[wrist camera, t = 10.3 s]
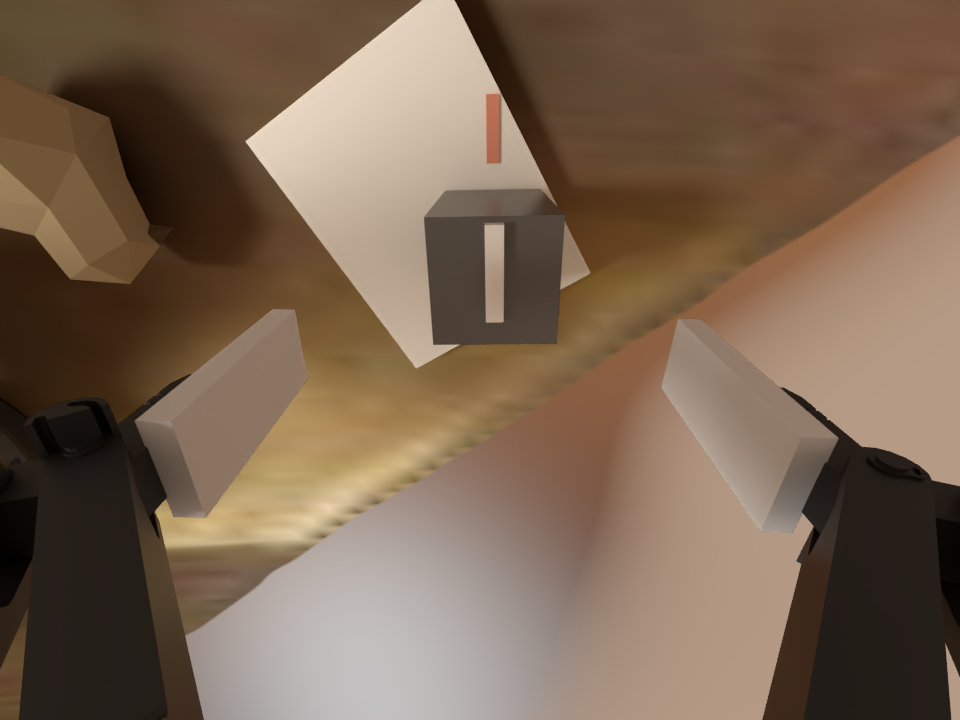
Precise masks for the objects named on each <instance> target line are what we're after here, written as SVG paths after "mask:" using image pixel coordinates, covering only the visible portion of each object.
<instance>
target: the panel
mask: <svg viewBox="0 0 960 720" xmlns="http://www.w3.org/2000/svg"><path fill="white" fill-rule="evenodd" d="M245 142H246V143H247V144H248V146H249V147H250V148H251V150H252V151H253V152H254V154H255V155H256V156H257V158H258V159H259V160H260V162H261V163H262V164H263V165H264V167H265V168H266V169H267V171H268V172H269V173H270V175H271V176H272V177H273V179H274V180H275V181H276V183H277V184H278V185H279V187H280V188H281V189H282V191H283V192H284V193H285V195H286V196H287V197H288V199H289V200H290V201H291V203H292V204H293V205H294V207H295V208H296V209H297V211H298V212H299V213H300V215H301V216H302V217H303V219H304V220H305V221H306V223H307V224H308V225H309V227H310V228H311V229H312V231H313V232H314V233H315V235H316V236H317V237H318V239H319V240H320V241H321V243H322V244H323V245H324V247H325V248H326V249H327V251H328V252H329V253H330V255H331V256H332V257H333V259H334V260H335V261H336V263H337V264H338V265H339V266H340V268H341V269H342V270H343V272H344V273H345V274H346V276H347V277H348V278H349V280H350V281H351V282H352V284H353V285H354V286H355V288H356V289H357V290H358V292H359V293H360V294H361V296H362V297H363V298H364V300H365V301H366V302H367V304H368V305H369V306H370V308H371V309H372V310H373V312H374V313H375V314H376V316H377V317H378V318H379V320H380V321H381V322H382V324H383V325H384V326H385V328H386V329H387V330H388V332H389V333H390V334H391V336H392V337H393V338H394V340H395V341H396V342H397V344H398V345H399V346H400V348H401V349H402V350H403V352H404V353H405V354H406V356H407V357H408V358H409V360H410V361H411V362H412V364H413V365H414V366H415V368H418V367H420V366H422V365H424V364H426V363H427V362H429V361H431V360H433V359H435V358H436V357H438V356H440V355H442V354H444V353H446V352H447V351H449V350H451V349H453V348H455V347H457V346H458V345H433V335H432V322H431V308H430V295H429V281H428V268H427V254H426V241H425V228H424V216H425V215H426V214H427V213H428V211H429V210H430V209H431V208H432V206H433V205H434V204H435V203H436V201H437V200H438V199H439V198H440V196H441V195H442V194H443V193H444V191H451V190H506V189H541V190H542V191H543V192H544V193H545V194H546V195H547V196H548V197H549V199H550V200H551V201H552V202H553V203H554V204H555V205H556V206H557V204H556V202H555V200H554V198H553V196H552V194H551V192H550V190H549V188H548V186H547V184H546V182H545V180H544V178H543V176H542V174H541V172H540V170H539V168H538V166H537V164H536V162H535V160H534V158H533V156H532V154H531V152H530V150H529V148H528V146H527V144H526V142H525V140H524V138H523V136H522V134H521V132H520V130H519V128H518V126H517V124H516V122H515V120H514V118H513V116H512V114H511V112H510V110H509V108H508V106H507V104H506V102H505V100H504V98H503V96H502V94H501V92H500V90H499V88H498V86H497V84H496V82H495V80H494V78H493V76H492V74H491V72H490V70H489V68H488V66H487V64H486V62H485V60H484V58H483V56H482V54H481V52H480V50H479V48H478V46H477V44H476V42H475V40H474V38H473V36H472V34H471V32H470V30H469V28H468V26H467V24H466V22H465V20H464V18H463V16H462V14H461V12H460V10H459V8H458V6H457V4H456V2H455V0H422V1H421V2H420V3H418V4H417V5H416V6H415V7H413V8H412V9H411V10H410V11H408V12H407V13H406V14H405V15H403V16H402V17H401V18H400V19H398V20H397V21H396V22H395V23H393V24H392V25H391V26H390V27H388V28H387V29H386V30H385V31H383V32H382V33H381V34H380V35H378V36H377V37H376V38H375V39H373V40H372V41H371V42H370V43H368V44H367V45H366V46H365V47H363V48H362V49H361V50H360V51H358V52H357V53H356V54H355V55H353V56H352V57H351V58H350V59H348V60H347V61H346V62H344V63H343V64H342V65H341V66H339V67H338V68H337V69H336V70H334V71H333V72H332V73H331V74H329V75H328V76H327V77H326V78H324V79H323V80H322V81H321V82H319V83H318V84H317V85H316V86H314V87H313V88H312V89H311V90H309V91H308V92H307V93H306V94H304V95H303V96H302V97H301V98H299V99H298V100H297V101H296V102H294V103H293V104H292V105H291V106H289V107H288V108H287V109H286V110H284V111H283V112H282V113H281V114H279V115H278V116H277V117H276V118H274V119H273V120H272V121H270V122H269V123H268V124H267V125H265V126H264V127H263V128H262V129H260V130H259V131H258V132H257V133H255V134H254V135H253V136H252V137H250V138H249V139H248V140H247V141H245ZM557 207H558V206H557ZM589 274H590V271H589V269H588V267H587V265H586V263H585V261H584V259H583V257H582V255H581V253H580V251H579V249H578V247H577V245H576V243H575V241H574V239H573V237H572V235H571V233H570V230H569V228H568V226H567V224H566V222H565V225H564V240H563V255H562V270H561V285H560V290H561V289H563V288H565V287H567V286H568V285H570V284H572V283H574V282H576V281H578V280H579V279H581V278H583V277H585V276H587V275H589Z"/></svg>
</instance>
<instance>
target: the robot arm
mask: <svg viewBox="0 0 960 720" xmlns="http://www.w3.org/2000/svg"><path fill="white" fill-rule="evenodd" d="M307 380H308V379H307V373H306V368H305V362H304V357H303V351H302V346H301V340H300V335H299V329H298V324H297V318H296V313H295V310H290V309H272V310H271V311H270V312H268V313H267V314H266V315H265V316H264V317H262V318H261V319H260V320H259V321H257V322H256V323H255V324H254V325H252V326H251V327H250V328H249V329H247V330H246V331H245V332H244V333H242V334H241V335H240V336H239V337H238V338H236V339H235V340H234V341H233V342H231V343H230V344H229V345H228V346H226V347H225V348H224V349H223V350H221V351H220V352H219V353H218V354H217V355H215V356H214V357H213V358H212V359H210V360H209V361H208V362H207V363H205V364H204V365H203V366H202V367H200V368H199V369H198V370H197V371H196V372H194V373H193V374H189V375H187V376H185V377H183V378H181V379H179V380H176V381H174V382H172V383H170V384H169V385H168V386H166V387H165V388H164V389H163V390H161V391H160V392H159V393H157V396H154V397H152V398H151V399H150V400H148V401H147V402H146V405H142V406H141V407H139V408H138V409H137V410H136V411H134V412H133V413H132V414H131V415H129V416H128V417H127V418H125V419H124V420H123V421H122V422H120V423H119V424H118V425H117V423H116V420H115V418H114V416H113V413H112V411H111V409H110V406H109V404H108V403H107V401H106V400H105V399H101V398H97V397H91V398H79V399H74V400H68V401H65V402H62V403H59V404H55V405H52V406H50V407H48V408H46V409H43V410H41V411H39V412H37V413H36V414H34V415H33V416H32V417H30V418H29V419H27V420H26V419H25V418H24V417H23V416H22V415H21V414H19V413H18V412H17V411H16V410H14V409H13V408H12V407H10V406H9V405H7V404H6V403H4V402H3V401H1V400H0V668H1V666H2V664H3V662H4V659H5V657H6V655H7V653H8V650H9V648H10V646H11V644H12V642H13V639H14V637H15V635H16V633H17V630H18V628H19V626H20V624H21V621H22V619H23V617H24V615H25V612H26V610H27V608H28V606H29V609H28V621H27V632H26V644H25V655H24V667H23V678H22V690H21V701H20V713H19V720H204V719H203V714H202V709H201V705H200V701H199V696H198V691H197V687H196V683H195V678H194V674H193V669H192V665H191V661H190V656H189V652H188V647H187V643H186V638H185V634H184V629H183V625H182V620H181V616H180V611H179V607H178V603H177V598H176V594H175V589H174V585H173V580H172V576H171V571H170V567H169V563H168V558H167V554H166V549H165V545H164V540H163V536H162V531H161V527H160V523H159V520H158V518H157V515H156V513H155V510H156V509H157V508H158V507H159V506H160V505H161V503H162V502H163V501H164V500H165V499H167V502H168V504H169V507H170V509H171V511H172V514H173V516H174V517H193V518H206V517H207V516H208V514H209V513H210V512H211V510H212V509H213V508H214V506H215V505H216V504H217V502H218V501H219V499H220V498H221V497H222V495H223V494H224V493H225V491H226V490H227V489H228V487H229V486H230V484H231V483H232V482H233V480H234V479H235V478H236V476H237V475H238V474H239V472H240V471H241V470H242V468H243V467H244V465H245V464H246V463H247V461H248V460H249V459H250V457H251V456H252V455H253V453H254V452H255V450H256V449H257V448H258V446H259V445H260V444H261V442H262V441H263V440H264V438H265V437H266V436H267V434H268V433H269V431H270V430H271V429H272V427H273V426H274V425H275V423H276V422H277V421H278V419H279V418H280V416H281V415H282V414H283V412H284V411H285V410H286V408H287V407H288V406H289V404H290V403H291V402H292V400H293V399H294V397H295V396H296V395H297V393H298V392H299V391H300V389H301V388H302V387H303V385H304V384H305V382H306V381H307ZM661 388H662V390H663V391H664V393H665V394H666V396H667V397H668V399H669V400H670V402H671V403H672V404H673V406H674V407H675V409H676V410H677V412H678V413H679V415H680V416H681V417H682V419H683V420H684V422H685V423H686V425H687V426H688V428H689V429H690V430H691V432H692V433H693V435H694V436H695V438H696V439H697V441H698V442H699V444H700V445H701V446H702V448H703V449H704V451H705V452H706V454H707V455H708V457H709V458H710V459H711V461H712V462H713V464H714V465H715V467H716V468H717V470H718V471H719V472H720V474H721V475H722V477H723V478H724V480H725V481H726V483H727V484H728V485H729V487H730V488H731V490H732V491H733V493H734V494H735V496H736V497H737V498H738V500H739V501H740V503H741V504H742V506H743V507H744V509H745V510H746V512H747V513H748V515H749V516H750V517H751V519H752V520H753V522H754V523H755V525H756V526H757V528H758V529H759V530H760V532H781V533H782V532H783V533H793V532H794V530H795V528H796V526H797V524H798V522H799V519H800V517H801V515H802V513H803V514H804V515H805V516H806V517H807V519H808V520H809V521H810V522H811V524H812V525H813V526H814V527H813V529H812V531H811V533H810V535H809V537H808V539H807V541H806V543H805V545H804V547H803V549H802V551H801V553H800V555H799V557H798V559H797V562H799V563H801V568H800V572H799V576H798V580H797V584H796V588H795V592H794V596H793V600H792V604H791V608H790V612H789V616H788V620H787V624H786V628H785V632H784V636H783V640H782V644H781V647H780V651H779V655H778V659H777V663H776V667H775V671H774V676H773V680H772V684H771V687H770V692H769V695H768V700H767V704H766V707H765V712H764V715H763V719H762V720H951V711H950V698H949V685H948V672H947V661H946V648H945V643H946V645H947V648H948V650H949V652H950V655H951V657H952V659H953V662H954V664H955V667H956V669H957V671H958V674H959V676H960V486H955V485H951V484H946V483H941V482H937V481H932V480H931V478H930V476H929V474H928V473H927V472H926V471H925V470H924V469H922V468H921V467H920V466H919V465H917V464H915V463H914V462H912V461H910V460H908V459H907V458H905V457H902V456H899V455H897V454H895V453H892V452H889V451H885V450H882V449H877V448H870V447H861V446H860V445H859V444H858V443H856V442H855V441H854V440H853V439H852V438H850V437H849V436H848V435H847V434H846V433H844V432H843V431H842V430H841V429H839V428H838V427H837V426H836V425H835V424H833V423H832V422H831V421H830V420H827V418H826V417H825V416H824V415H823V414H822V413H820V412H819V411H816V409H815V408H814V407H813V406H812V405H811V404H809V403H808V402H807V401H806V400H805V399H803V398H802V397H800V396H798V395H796V394H794V393H793V392H791V391H789V390H787V389H785V388H780V387H779V386H777V385H776V384H775V383H774V382H773V381H772V380H770V379H769V378H768V377H767V376H766V375H765V374H763V373H762V372H761V371H760V370H759V369H758V368H756V367H755V366H754V365H753V364H752V363H751V362H749V361H748V360H747V359H746V358H745V357H744V356H742V355H741V354H740V353H739V352H738V351H736V349H734V348H733V347H732V346H731V345H730V344H728V343H727V342H726V341H725V340H724V339H723V338H722V337H720V336H719V335H718V334H717V333H716V332H715V331H713V330H712V329H711V328H710V327H709V326H707V325H706V324H705V323H704V322H703V321H702V320H701V319H678V321H677V325H676V329H675V333H674V338H673V342H672V346H671V350H670V354H669V358H668V362H667V367H666V371H665V375H664V379H663V383H662V387H661Z"/></svg>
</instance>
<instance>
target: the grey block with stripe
mask: <svg viewBox="0 0 960 720" xmlns="http://www.w3.org/2000/svg"><path fill="white" fill-rule="evenodd" d="M564 225H565V214H564V213H563V212H562V211H561V210H560V209H559V208H558V207H557V206H556V205H555V204H554V203H553V202H552V201H551V200H550V199H549V197H548V196H547V195H546V194H545V193H544V192H543V191H542V190H541V189H506V190H451V191H444V193H443V194H442V195H441V196H440V198H439V199H438V200H437V201H436V203H435V204H434V205H433V206H432V208H431V209H430V210H429V211H428V213H427V214H426V215H425V216H424V228H425V241H426V254H427V268H428V281H429V295H430V308H431V322H432V335H433V345H475V344H557V331H558V316H559V300H560V285H561V270H562V255H563V240H564Z"/></svg>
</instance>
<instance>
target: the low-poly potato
mask: <svg viewBox="0 0 960 720" xmlns="http://www.w3.org/2000/svg"><path fill="white" fill-rule="evenodd" d="M0 228H4V229H8V230H13V231H17V232H21V233H25V234H30V235H34V236H35V237H36V238H37V239H38V241H39V242H40V243H41V244H42V246H43V247H44V248H45V249H46V250H47V252H48V253H49V254H50V255H51V257H52V258H53V259H54V260H55V261H56V263H57V264H58V265H59V266H60V268H61V269H62V270H63V271H64V272H65V274H66V275H67V276H68V277H69V279H72V280H85V281H98V282H111V283H124V284H131V282H132V281H133V280H134V279H135V277H136V276H137V275H138V274H139V272H140V271H141V270H142V268H143V267H144V266H145V265H146V263H147V262H148V261H149V260H150V258H151V257H152V256H153V254H154V253H155V252H156V251H157V249H158V248H159V247H160V245H161V244H162V243H163V241H164V240H165V238H166V237H167V236H168V234H169V233H170V231H171V230H172V228H173V227H167V226H160V225H153V224H149V222H148V220H147V218H146V216H145V214H144V212H143V210H142V208H141V206H140V204H139V202H138V200H137V198H136V196H135V194H134V192H133V190H132V188H131V186H130V184H129V182H128V180H127V178H126V175H125V171H124V168H123V164H122V161H121V157H120V153H119V150H118V146H117V143H116V139H115V136H114V132H113V129H112V125H111V122H110V118H109V117H107V116H104V115H102V114H99V113H97V112H94V111H92V110H89V109H87V108H84V107H82V106H79V105H77V104H75V103H72V102H70V101H67V100H65V99H62V98H60V97H57V96H55V95H52V94H50V93H47V92H45V91H42V90H40V89H37V88H35V87H32V86H30V85H27V84H25V83H22V82H19V81H17V80H14V79H11V78H9V77H6V76H3V75H1V74H0Z"/></svg>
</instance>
